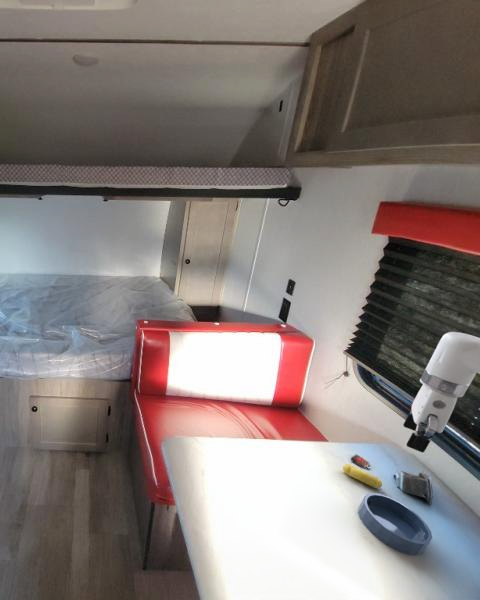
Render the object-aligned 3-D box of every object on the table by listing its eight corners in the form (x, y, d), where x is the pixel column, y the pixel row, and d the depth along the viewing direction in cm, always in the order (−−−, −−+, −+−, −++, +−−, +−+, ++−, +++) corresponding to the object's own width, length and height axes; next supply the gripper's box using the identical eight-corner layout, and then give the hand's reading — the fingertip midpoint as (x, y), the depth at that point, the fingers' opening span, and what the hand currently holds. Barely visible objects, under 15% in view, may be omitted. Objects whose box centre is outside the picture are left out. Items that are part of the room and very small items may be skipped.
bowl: (420, 526, 85) (428, 515, 83) (427, 567, 75) (436, 556, 74) (358, 494, 92) (364, 484, 90) (357, 528, 82) (364, 517, 81)
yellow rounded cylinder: (378, 487, 95) (383, 478, 95) (380, 492, 93) (384, 483, 92) (340, 469, 100) (344, 460, 100) (341, 473, 98) (345, 464, 97)
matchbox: (350, 461, 103) (350, 459, 103) (353, 453, 107) (353, 451, 106) (368, 471, 100) (369, 470, 100) (371, 462, 104) (372, 461, 103)
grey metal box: (390, 465, 104) (396, 457, 96) (422, 472, 100) (431, 465, 92) (392, 498, 100) (399, 493, 92) (426, 507, 96) (435, 503, 88)
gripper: (474, 406, 71) (438, 466, 77) (458, 375, 84) (427, 428, 90) (426, 390, 76) (395, 449, 82) (418, 363, 88) (391, 415, 94)
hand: (412, 438), depth 86 cm, fingers open, 9 cm apart
